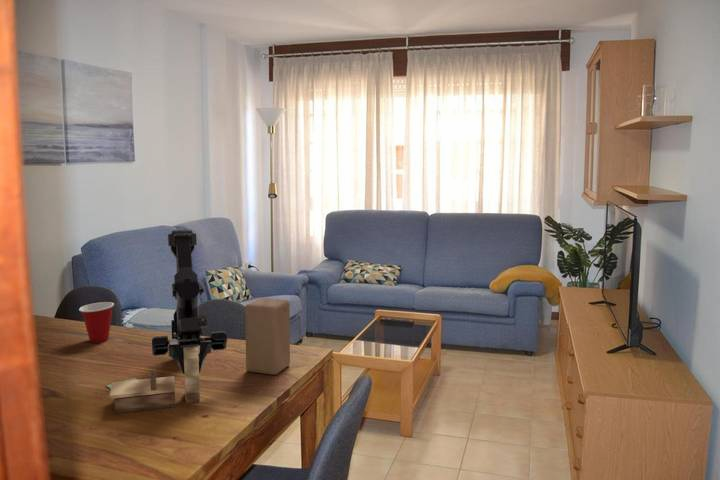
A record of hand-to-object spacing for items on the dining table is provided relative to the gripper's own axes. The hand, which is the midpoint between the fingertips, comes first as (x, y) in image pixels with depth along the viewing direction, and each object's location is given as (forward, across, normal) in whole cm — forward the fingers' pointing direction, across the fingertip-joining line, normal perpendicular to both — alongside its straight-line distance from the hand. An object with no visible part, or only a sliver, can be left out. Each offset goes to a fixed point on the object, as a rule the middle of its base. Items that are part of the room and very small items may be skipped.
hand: (191, 373), depth 155 cm
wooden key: (+4, 0, +6) cm, 7 cm away
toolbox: (+4, -8, +6) cm, 11 cm away
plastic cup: (-38, -27, +48) cm, 67 cm away
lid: (+1, -12, +3) cm, 12 cm away
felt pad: (-5, -16, +15) cm, 23 cm away
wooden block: (-7, +22, +17) cm, 29 cm away
